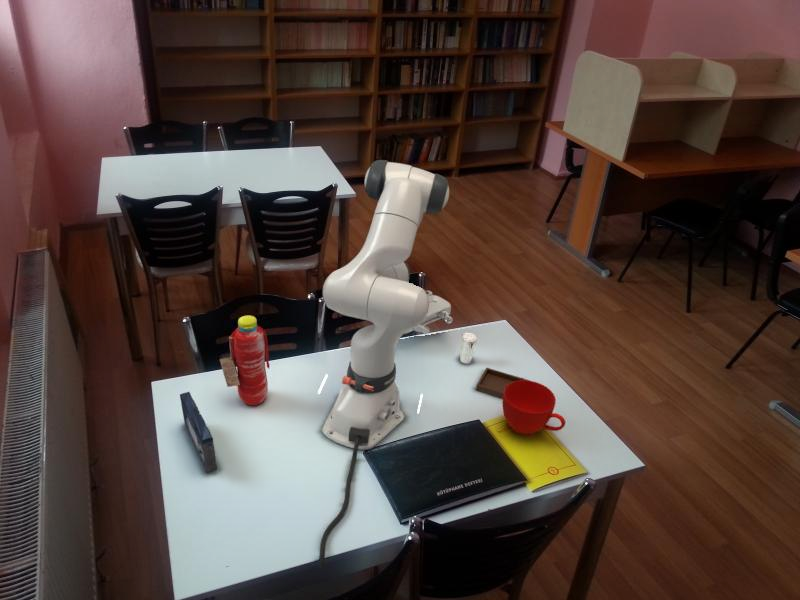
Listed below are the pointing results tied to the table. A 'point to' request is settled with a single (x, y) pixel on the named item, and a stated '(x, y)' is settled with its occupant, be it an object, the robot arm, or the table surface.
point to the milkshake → (467, 347)
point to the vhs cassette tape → (198, 432)
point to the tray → (495, 382)
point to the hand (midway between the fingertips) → (439, 326)
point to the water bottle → (247, 361)
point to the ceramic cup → (529, 407)
